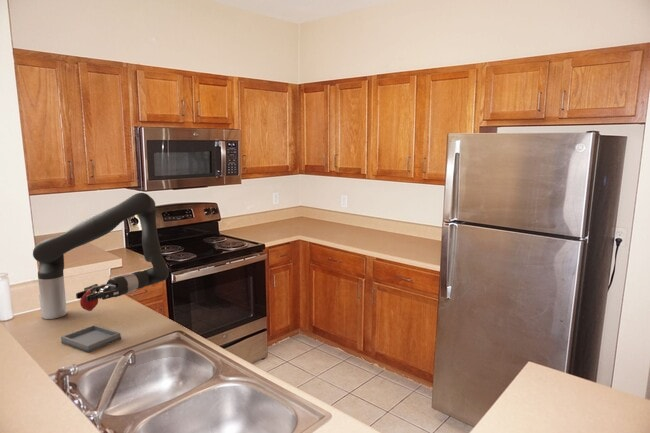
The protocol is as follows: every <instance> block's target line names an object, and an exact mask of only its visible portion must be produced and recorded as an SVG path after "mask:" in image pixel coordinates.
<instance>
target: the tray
mask: <svg viewBox="0 0 650 433" xmlns="http://www.w3.org/2000/svg"><path fill="white" fill-rule="evenodd" d="M121 339H122V335H121V332H119V331H116V330H112V329H109V328H106V327H104V326H103V327H102V326H100V325H96V324H92V325H89V326H86V327H84V328H81V329H78V330H76V331H74V332H73V331H72V332H70V333H67V334H64V335H62V336H61V337H60V343H61V344H62V345H64V346H69V347H71V348H73V349H77V350H79V351H83V352H84V353H88V354H89V353H92V352H94V351H96V350H98V349H102V348H104V347H106V346H108V345H111V344H113V343H115V342H117V341H120V340H121Z"/></svg>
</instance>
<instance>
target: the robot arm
mask: <svg viewBox="0 0 650 433" xmlns="http://www.w3.org/2000/svg"><path fill="white" fill-rule="evenodd" d="M136 215H137V216H138V219H139V221H140V225H141V245H142V251H143V257H144V260H145V261H146V262H147V263H150V264H151V265H152V267H151V268H148V269H144V270H139V271H135V272H131V273H126V274H123V275H117V276H114V277H112V278H109V279H108V280H107V282H106V284H105V283H103V284H100V285H98V283H95V284H92V285H89V286H87V287H84V288H83V290H82V291H78V292H76V294H75V297H76V299H78V300H81V297H82V296H83V295H84V294H85V293H86V292H87V291H88V290H91V291H90V292H91V293H94V294H90V295H87V296H86V301H88V302H89V301H92V300H95V299H97V298H98V300H107V299H111V298H118V297H120V296H124V295H126V294H129V293H132V292H134V291H137V290H139V289H143V288H145V287H149V286H152V285H155V284H158V283H161V282H165V281H166V280H167V279H168V278H169V275H170V274H169V273H170V271H169V270H170V269H169V267H168V264H167V263H166V260H165V258H164V256H163V255H162V254H163V253H162V249H161V244H160V238H159V234H158V229H157V219H156V218H157V217H156V202H155V200H154V198H152V197H151V195H149V194H147V193H145V192H138V193H135V194H132V195H131V196H129V197H128V198H127V199H125V200H123V201H122V202H120V203H118V204H117V205H115V206H112V207H110V208H107V209H106V210H104V211H102V212H100V213H98V214H95V215H92V216H91V217H89V218H87V219H85V220H84V221H81V222H79V223H78V224H76V225H75V226H73V227H71V228H70V229H69V230H67V231H66V232H64V233H61V234H59V235H58V236H54V237H51V238H50V237H49V238H45V239H43V240H42V241H40V242H38V243H37V244H36V245H35V246H34V249H32V257H33V258H34V260H36V261H37V262H38V263H39V265H38V266H39V267H38V271H37V279H38V280H37V281H38V290H39V295H38V296H39V304H40V316H41V318H42V319H44V320H52V319H53V320H55V319H58V318H62V317H65V316H66V315H67V314H68V310H67V299H66V288H65V277H64V269H65V254H66V253H68V252H69V251H71V250H73V249H76V248H78V247H81V246H84V245H86V244H88V243H91V242H93V241H95V240H97V239H99V238H101V237H104V236H105V235H108V234H109V233H111V232H112V231H113V230H114V229H116V228H117V227H118V226H119V225H120V224H121V223H122V222H124V221H126V220H128V219H130V218H132V217H134V216H136Z"/></svg>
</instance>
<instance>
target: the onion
mask: <svg viewBox="0 0 650 433" xmlns="http://www.w3.org/2000/svg"><path fill="white" fill-rule="evenodd" d="M90 291H91V290H88V291H87V292H86V293H85V294H84V295H83V296H82V297H81V298H80V299H79V303H80V304H79V305H80V306H81V308H82V309H83V310H85V311H88V312H91V311H93V310H94V309H95V308H96V306H97V305H98V304H99V299H98V298H97V299H95V300H92V301H89V302H88V301H86V296H87V295H90V294H94V293H91V292H90Z"/></svg>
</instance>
